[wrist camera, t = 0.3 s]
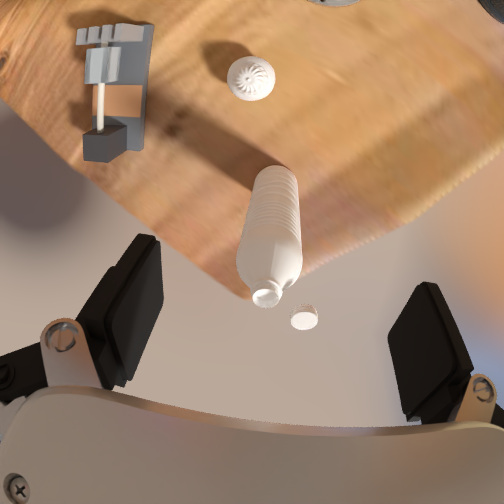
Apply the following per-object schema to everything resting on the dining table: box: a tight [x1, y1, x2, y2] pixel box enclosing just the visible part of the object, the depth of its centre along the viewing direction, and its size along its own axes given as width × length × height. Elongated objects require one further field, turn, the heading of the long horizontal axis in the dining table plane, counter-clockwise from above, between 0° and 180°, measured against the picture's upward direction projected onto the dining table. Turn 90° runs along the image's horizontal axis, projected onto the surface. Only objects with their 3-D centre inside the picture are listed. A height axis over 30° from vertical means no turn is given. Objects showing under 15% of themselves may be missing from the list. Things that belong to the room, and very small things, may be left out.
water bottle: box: [236, 165, 318, 330], centre depth 36 cm, size 9×6×25 cm
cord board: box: [76, 23, 154, 163], centre depth 35 cm, size 20×9×8 cm, turn 171°
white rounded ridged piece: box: [227, 56, 275, 101], centre depth 34 cm, size 6×6×7 cm
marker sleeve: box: [84, 47, 121, 84], centre depth 31 cm, size 5×4×3 cm
